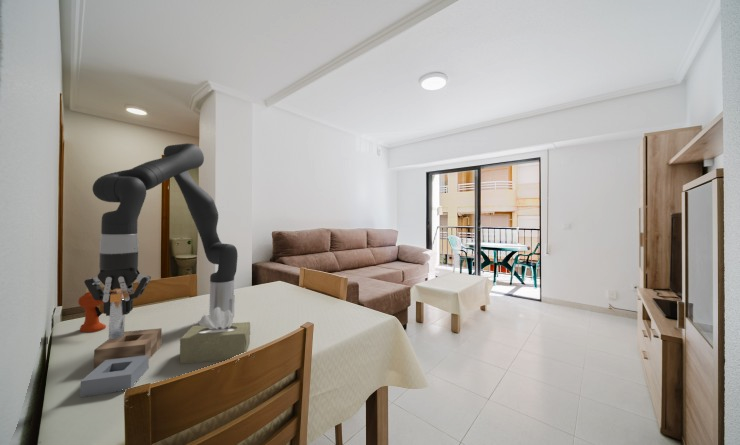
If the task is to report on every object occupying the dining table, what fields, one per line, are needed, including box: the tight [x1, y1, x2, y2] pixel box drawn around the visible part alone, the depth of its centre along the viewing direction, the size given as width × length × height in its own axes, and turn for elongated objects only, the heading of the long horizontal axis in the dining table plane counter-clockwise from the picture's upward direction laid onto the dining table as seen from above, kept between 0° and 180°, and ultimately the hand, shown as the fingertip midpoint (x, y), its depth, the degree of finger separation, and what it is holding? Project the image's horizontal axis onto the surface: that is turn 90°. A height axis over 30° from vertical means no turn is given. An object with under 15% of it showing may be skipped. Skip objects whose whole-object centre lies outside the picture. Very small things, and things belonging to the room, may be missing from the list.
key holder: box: [79, 355, 150, 398], centre depth 71 cm, size 10×10×4 cm
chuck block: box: [93, 327, 163, 370], centre depth 83 cm, size 12×12×6 cm
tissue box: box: [179, 307, 251, 365], centre depth 87 cm, size 19×10×16 cm, turn 105°
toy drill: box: [77, 291, 107, 333], centre depth 101 cm, size 5×19×15 cm, turn 91°
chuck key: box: [108, 288, 126, 339], centre depth 70 cm, size 7×3×12 cm, turn 36°
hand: (118, 313), depth 71 cm, fingers closed on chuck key, 3 cm apart
